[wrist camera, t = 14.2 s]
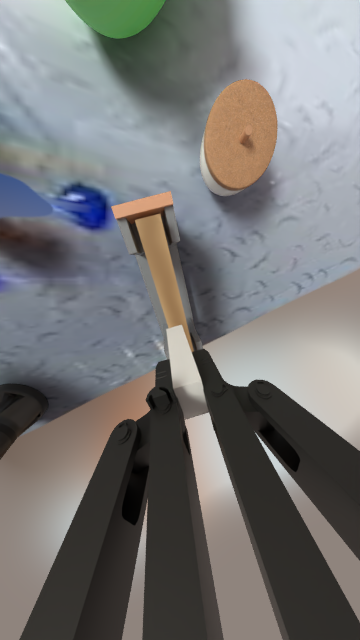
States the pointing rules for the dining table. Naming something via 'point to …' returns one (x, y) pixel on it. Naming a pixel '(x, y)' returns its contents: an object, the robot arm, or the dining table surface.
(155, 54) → the dining table surface
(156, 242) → the slat
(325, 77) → the dining table surface
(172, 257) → the stand
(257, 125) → the lidded jar
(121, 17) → the toy bird
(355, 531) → the robot arm
